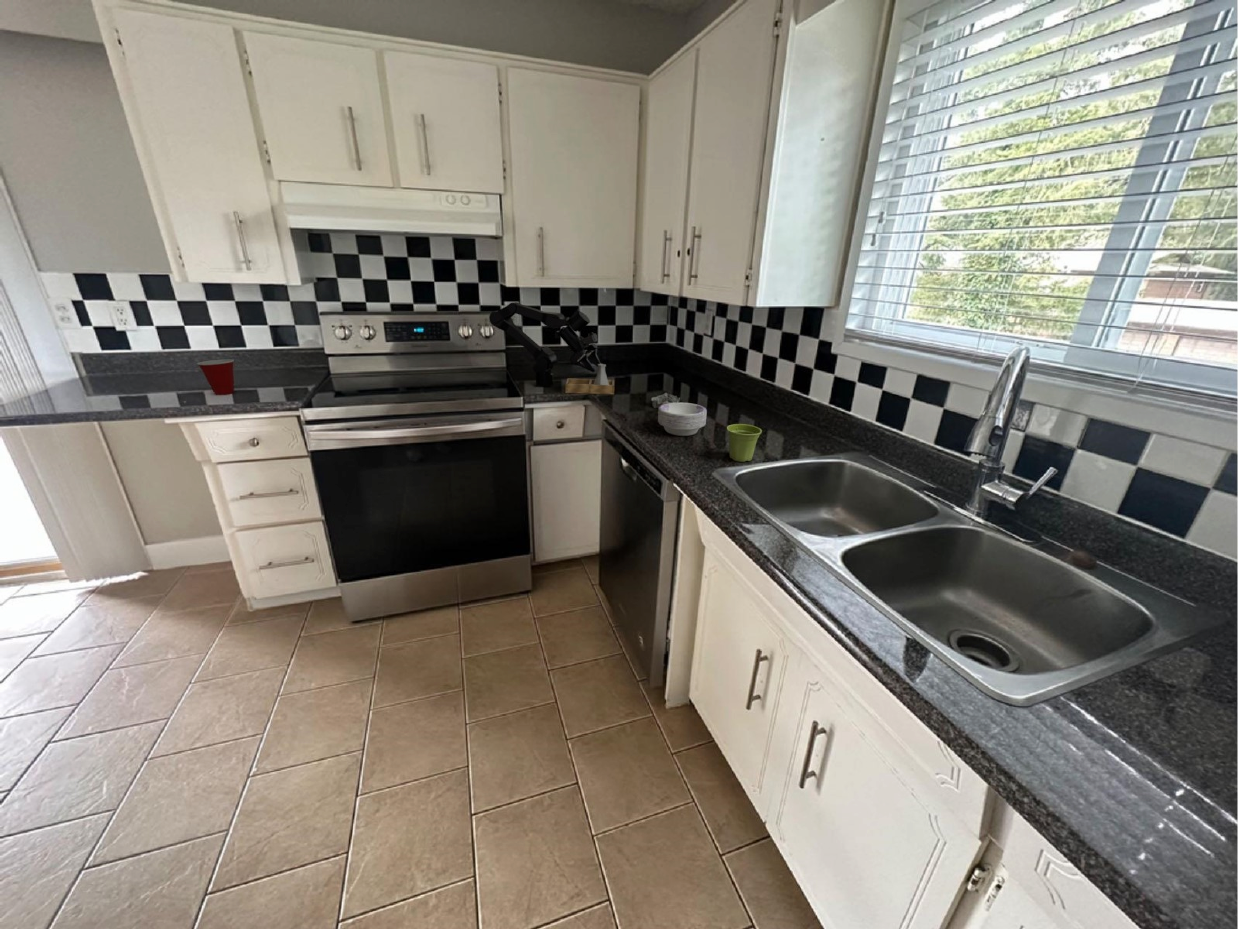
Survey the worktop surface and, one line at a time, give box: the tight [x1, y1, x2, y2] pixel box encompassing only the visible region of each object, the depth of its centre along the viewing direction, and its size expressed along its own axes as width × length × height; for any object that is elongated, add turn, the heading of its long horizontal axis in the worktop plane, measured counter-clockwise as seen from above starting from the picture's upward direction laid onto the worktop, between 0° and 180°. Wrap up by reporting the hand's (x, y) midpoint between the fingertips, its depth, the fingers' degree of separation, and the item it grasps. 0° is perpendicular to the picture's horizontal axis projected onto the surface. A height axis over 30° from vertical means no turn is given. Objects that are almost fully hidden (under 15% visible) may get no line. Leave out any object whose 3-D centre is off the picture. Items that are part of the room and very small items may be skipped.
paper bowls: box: [657, 402, 708, 437], centre depth 159 cm, size 15×15×8 cm
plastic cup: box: [196, 358, 235, 396], centre depth 182 cm, size 11×11×12 cm
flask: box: [593, 363, 609, 385], centre depth 204 cm, size 7×7×10 cm
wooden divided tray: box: [564, 377, 615, 395], centre depth 206 cm, size 20×10×4 cm, turn 91°
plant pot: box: [726, 423, 763, 463], centre depth 139 cm, size 9×9×9 cm
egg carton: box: [651, 392, 681, 409], centre depth 188 cm, size 11×8×4 cm
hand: (597, 369), depth 204 cm, fingers open, 9 cm apart
